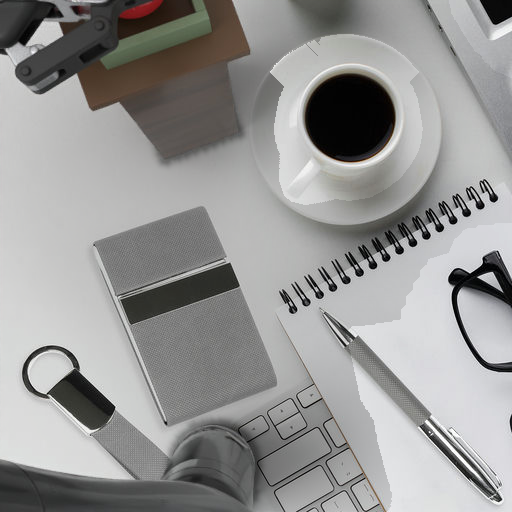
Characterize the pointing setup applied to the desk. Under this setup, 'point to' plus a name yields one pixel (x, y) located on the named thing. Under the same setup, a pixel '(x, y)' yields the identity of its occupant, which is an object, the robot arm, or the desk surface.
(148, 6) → the beverage can
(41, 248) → the desk surface
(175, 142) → the stand column
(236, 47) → the can holder
